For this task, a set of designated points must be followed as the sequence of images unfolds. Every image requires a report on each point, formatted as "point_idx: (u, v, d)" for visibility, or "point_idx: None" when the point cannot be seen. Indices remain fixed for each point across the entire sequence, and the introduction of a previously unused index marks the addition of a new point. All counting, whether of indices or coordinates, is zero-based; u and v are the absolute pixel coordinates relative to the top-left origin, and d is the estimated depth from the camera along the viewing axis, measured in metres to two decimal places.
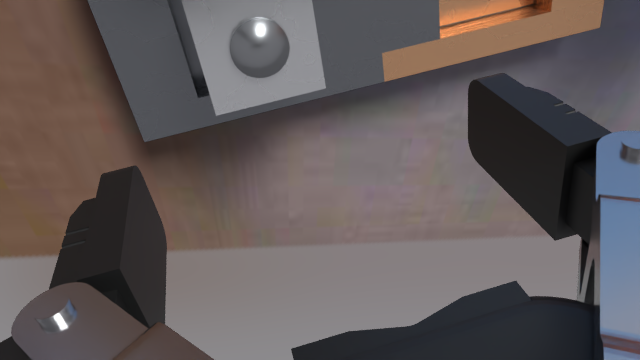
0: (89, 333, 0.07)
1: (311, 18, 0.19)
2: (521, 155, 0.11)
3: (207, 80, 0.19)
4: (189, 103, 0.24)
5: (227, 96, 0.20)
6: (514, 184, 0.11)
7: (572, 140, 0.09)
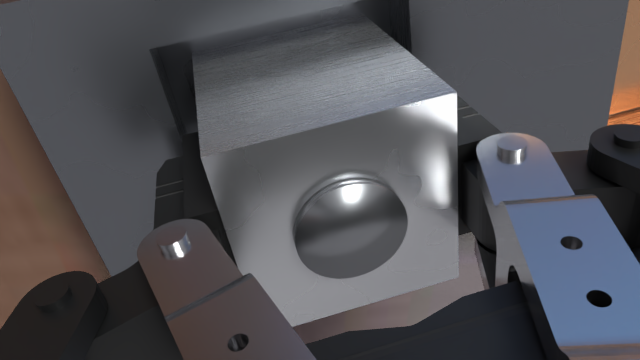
0: (211, 257, 0.08)
1: (451, 171, 0.10)
2: None
3: None
4: None
5: (283, 306, 0.11)
6: None
7: (459, 142, 0.10)
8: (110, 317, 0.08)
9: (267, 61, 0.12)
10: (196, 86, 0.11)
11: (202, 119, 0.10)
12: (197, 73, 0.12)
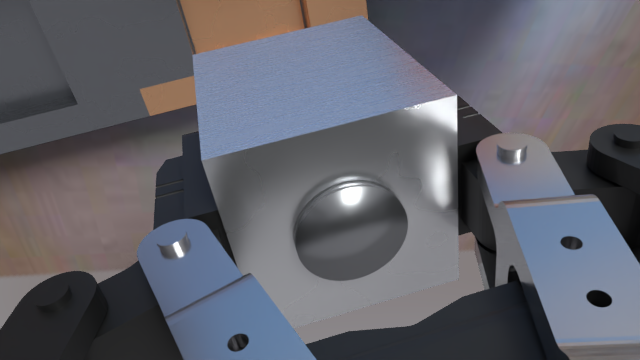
0: (211, 257, 0.08)
1: (451, 174, 0.10)
2: None
3: None
4: None
5: (284, 308, 0.11)
6: None
7: (459, 142, 0.10)
8: (110, 317, 0.08)
9: (268, 63, 0.12)
10: (197, 88, 0.11)
11: (203, 122, 0.10)
12: (198, 75, 0.12)
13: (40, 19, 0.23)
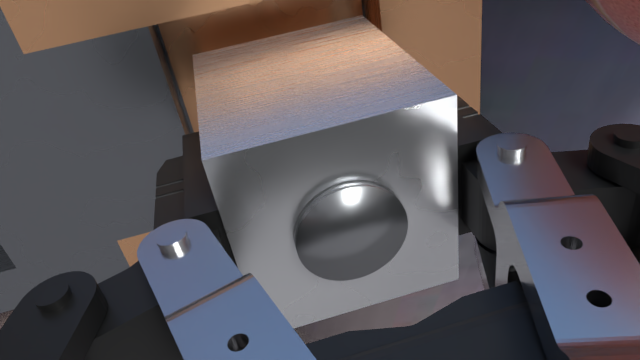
0: (211, 257, 0.08)
1: (451, 174, 0.10)
2: None
3: None
4: None
5: (284, 308, 0.11)
6: None
7: (459, 142, 0.10)
8: (110, 317, 0.08)
9: (268, 63, 0.12)
10: (197, 88, 0.11)
11: (203, 122, 0.10)
12: (198, 75, 0.12)
13: None
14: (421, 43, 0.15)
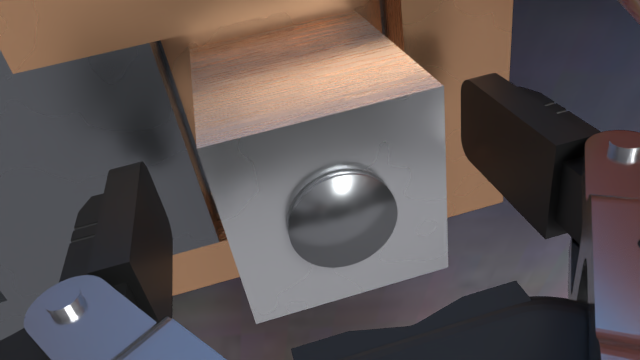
0: (101, 325, 0.07)
1: (439, 163, 0.10)
2: (512, 154, 0.11)
3: (242, 274, 0.10)
4: None
5: (277, 294, 0.11)
6: (506, 183, 0.11)
7: (561, 140, 0.09)
8: None
9: (262, 57, 0.12)
10: (193, 81, 0.11)
11: (198, 112, 0.10)
12: (194, 69, 0.12)
13: None
14: (446, 59, 0.14)
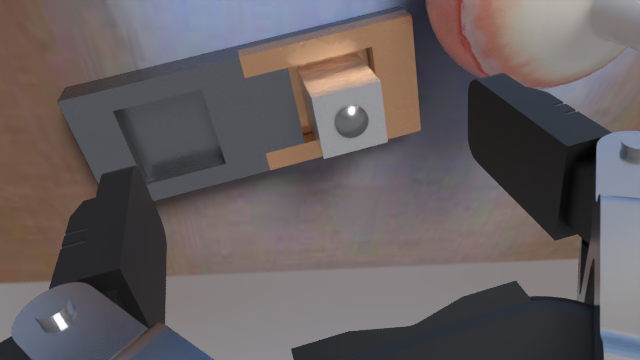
0: (89, 333, 0.07)
1: (381, 104, 0.33)
2: (521, 155, 0.11)
3: (321, 139, 0.34)
4: None
5: (331, 148, 0.34)
6: (514, 184, 0.11)
7: (572, 140, 0.09)
8: None
9: (325, 72, 0.35)
10: (303, 80, 0.35)
11: (308, 89, 0.33)
12: (302, 76, 0.35)
13: (211, 113, 0.36)
14: (391, 71, 0.37)
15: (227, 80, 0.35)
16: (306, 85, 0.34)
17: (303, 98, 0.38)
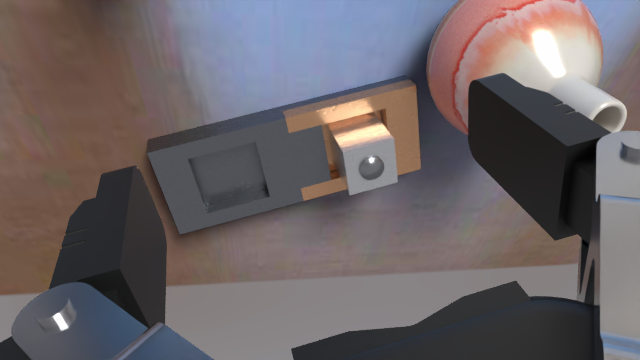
0: (89, 333, 0.07)
1: (394, 155, 0.44)
2: (521, 155, 0.11)
3: (348, 181, 0.44)
4: (202, 216, 0.48)
5: (355, 187, 0.45)
6: (514, 184, 0.11)
7: (572, 140, 0.09)
8: None
9: (349, 128, 0.46)
10: (333, 135, 0.45)
11: (339, 143, 0.44)
12: (332, 131, 0.46)
13: (261, 159, 0.46)
14: (399, 126, 0.48)
15: (276, 134, 0.45)
16: (337, 139, 0.45)
17: (330, 145, 0.48)
